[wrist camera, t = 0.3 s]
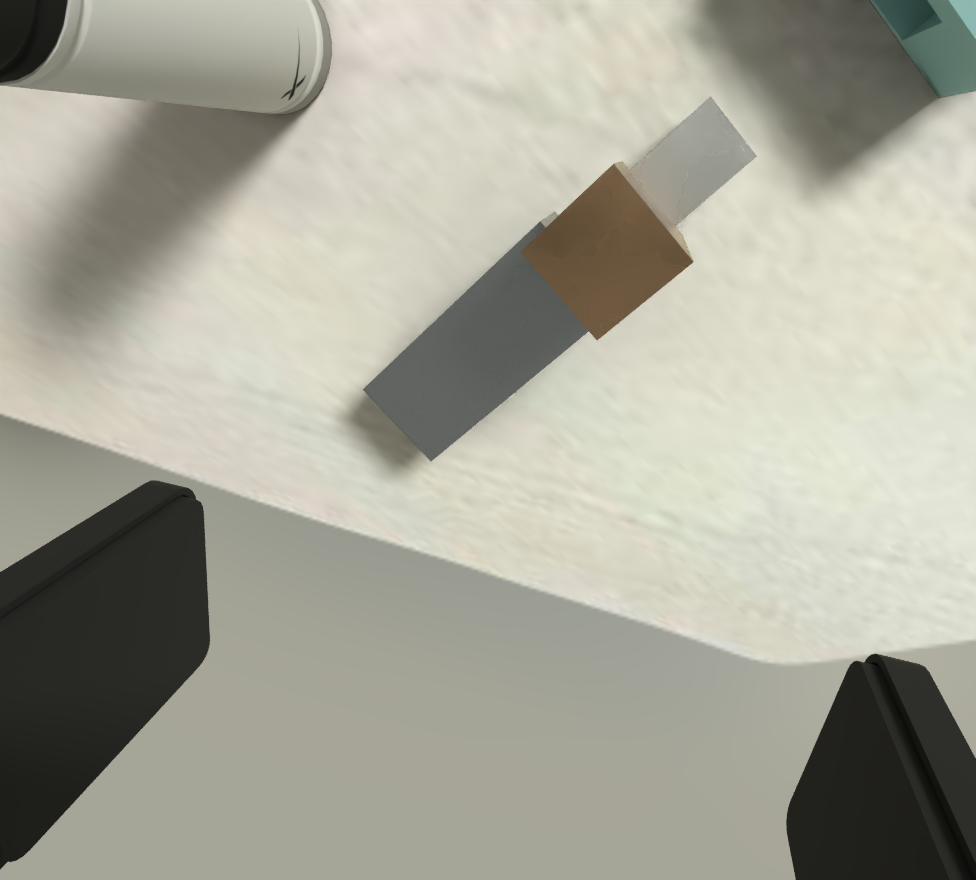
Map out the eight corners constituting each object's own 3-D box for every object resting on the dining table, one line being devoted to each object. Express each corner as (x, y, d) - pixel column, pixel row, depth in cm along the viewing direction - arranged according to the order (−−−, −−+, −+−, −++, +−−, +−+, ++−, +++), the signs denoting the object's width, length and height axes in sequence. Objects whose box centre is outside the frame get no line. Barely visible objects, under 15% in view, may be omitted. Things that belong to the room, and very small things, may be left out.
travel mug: (354, 96, 33) (13, 31, 15) (240, 127, 35) (-185, 100, 17) (319, -51, 31) (-125, -326, 13) (199, -11, 33) (-335, -205, 15)
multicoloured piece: (457, 415, 38) (389, 508, 28) (408, 362, 37) (321, 438, 27) (753, 165, 30) (805, 170, 20) (697, 92, 29) (722, 61, 20)
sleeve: (455, 426, 39) (430, 461, 35) (396, 361, 38) (362, 389, 34) (619, 288, 34) (615, 309, 30) (554, 212, 34) (540, 221, 29)
